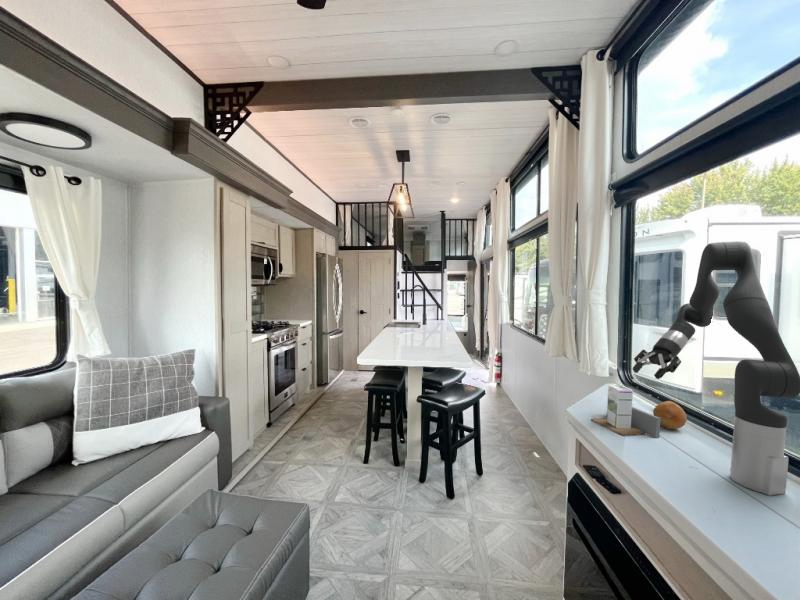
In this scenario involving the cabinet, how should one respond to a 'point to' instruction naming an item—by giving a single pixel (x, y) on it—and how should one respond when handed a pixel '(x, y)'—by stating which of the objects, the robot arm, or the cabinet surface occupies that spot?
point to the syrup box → (619, 406)
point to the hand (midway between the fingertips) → (645, 374)
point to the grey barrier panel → (645, 422)
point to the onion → (670, 415)
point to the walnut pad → (620, 431)
